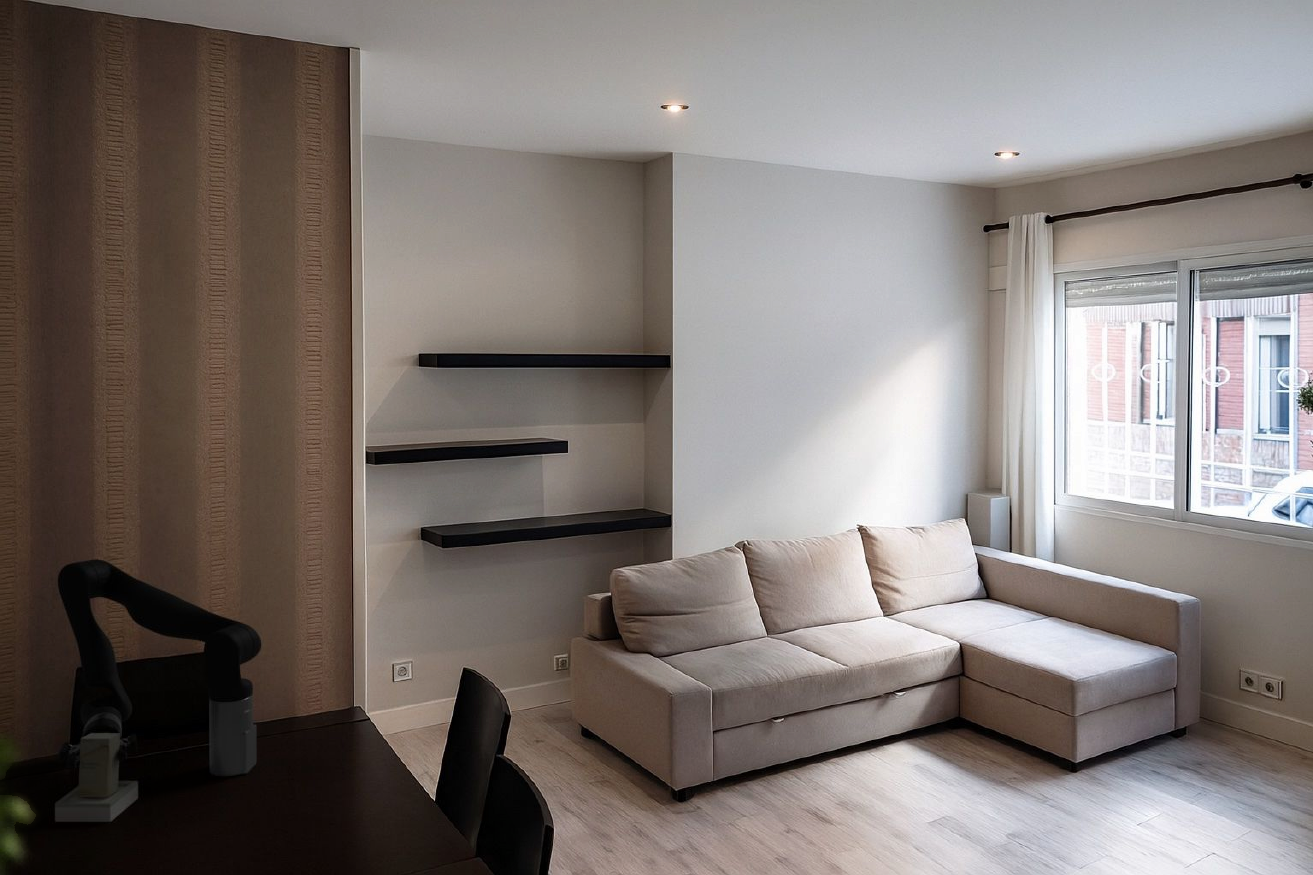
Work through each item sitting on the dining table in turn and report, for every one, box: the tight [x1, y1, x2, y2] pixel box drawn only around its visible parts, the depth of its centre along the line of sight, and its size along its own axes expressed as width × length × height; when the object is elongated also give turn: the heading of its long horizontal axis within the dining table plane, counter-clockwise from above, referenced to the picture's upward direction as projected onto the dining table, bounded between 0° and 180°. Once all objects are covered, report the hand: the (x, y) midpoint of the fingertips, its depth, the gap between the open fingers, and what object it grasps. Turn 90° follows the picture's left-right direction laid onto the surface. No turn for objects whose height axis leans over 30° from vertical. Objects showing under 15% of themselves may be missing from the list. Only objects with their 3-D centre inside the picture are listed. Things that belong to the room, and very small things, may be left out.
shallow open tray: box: [54, 780, 139, 823], centre depth 197 cm, size 11×11×4 cm
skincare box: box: [78, 733, 120, 797], centre depth 198 cm, size 6×4×12 cm
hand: (97, 760), depth 196 cm, fingers open, 8 cm apart
